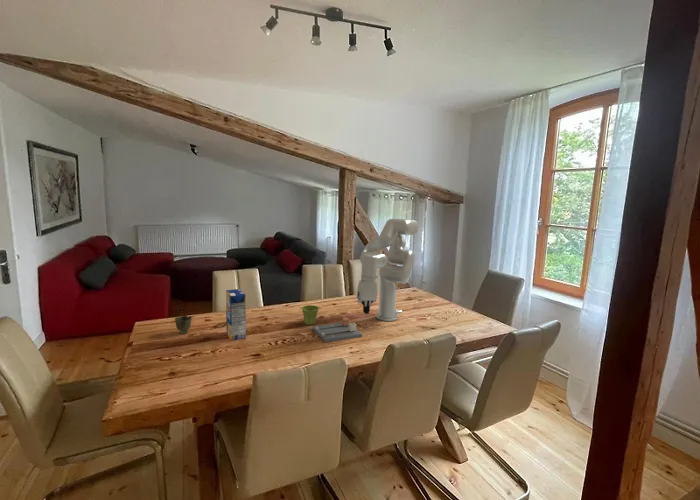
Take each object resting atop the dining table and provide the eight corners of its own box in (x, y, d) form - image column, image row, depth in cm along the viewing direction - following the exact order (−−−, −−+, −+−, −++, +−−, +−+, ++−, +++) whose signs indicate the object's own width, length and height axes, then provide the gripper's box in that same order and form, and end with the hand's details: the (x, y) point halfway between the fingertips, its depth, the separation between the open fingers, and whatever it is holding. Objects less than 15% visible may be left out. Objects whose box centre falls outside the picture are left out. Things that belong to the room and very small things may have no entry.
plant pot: (315, 326, 198) (316, 311, 197) (298, 325, 200) (299, 309, 198) (320, 321, 207) (321, 306, 206) (304, 319, 209) (304, 304, 208)
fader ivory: (353, 329, 192) (354, 322, 192) (356, 330, 190) (356, 324, 189) (348, 329, 191) (349, 323, 190) (350, 331, 189) (351, 324, 188)
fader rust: (347, 323, 199) (347, 317, 199) (349, 325, 197) (349, 318, 196) (342, 324, 198) (342, 318, 197) (344, 326, 196) (344, 319, 195)
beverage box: (231, 340, 176) (231, 296, 172) (226, 332, 185) (225, 290, 182) (245, 338, 179) (245, 294, 176) (240, 330, 189) (240, 288, 185)
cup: (195, 331, 185) (194, 316, 184) (184, 336, 178) (183, 321, 177) (183, 329, 187) (182, 314, 186) (172, 334, 180) (171, 318, 179)
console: (346, 324, 204) (346, 320, 203) (361, 336, 188) (362, 331, 187) (312, 329, 195) (312, 324, 194) (325, 342, 179) (325, 337, 178)
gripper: (377, 276, 196) (374, 309, 199) (352, 277, 189) (349, 312, 192) (384, 279, 189) (382, 314, 192) (358, 280, 183) (356, 316, 185)
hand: (366, 313), depth 192 cm, fingers closed
